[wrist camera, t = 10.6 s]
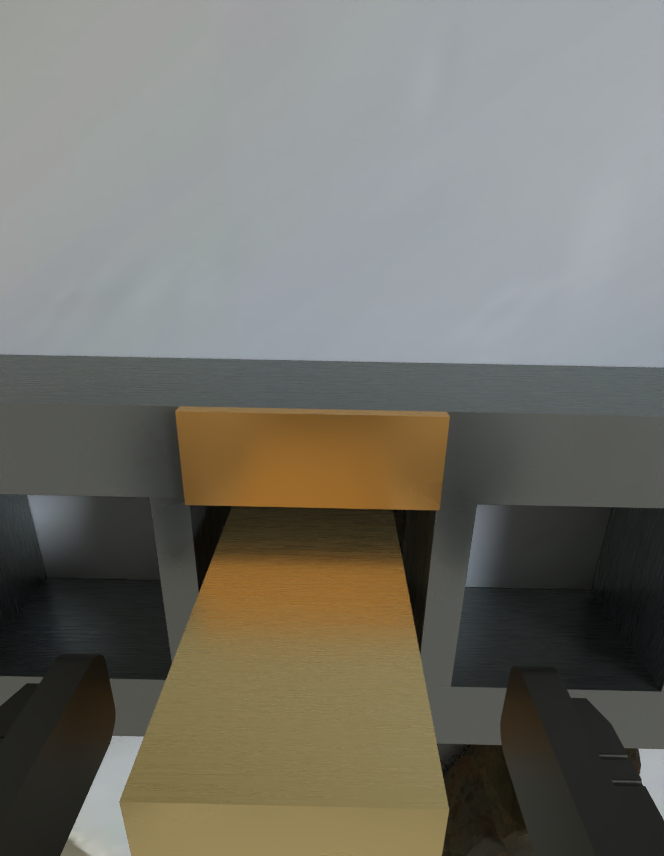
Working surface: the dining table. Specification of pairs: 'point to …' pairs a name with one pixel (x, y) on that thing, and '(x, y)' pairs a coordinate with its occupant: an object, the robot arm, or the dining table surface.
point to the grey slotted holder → (345, 488)
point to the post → (294, 702)
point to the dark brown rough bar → (488, 805)
